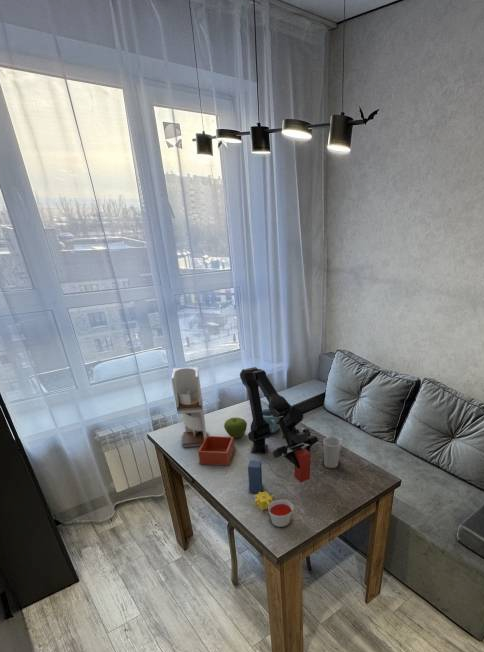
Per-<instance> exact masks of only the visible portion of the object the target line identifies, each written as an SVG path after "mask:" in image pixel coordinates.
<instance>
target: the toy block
mask: <svg viewBox="0 0 484 652" xmlns="http://www.w3.org/2000/svg"><path fill="white" fill-rule="evenodd" d="M254 497H255V499H254V505H255V506H257V507H258V508H259V509H260V510H261V511H264V510H268V507H269V505H270V504H271V503H272V502H273V498H274V497H275V495H274V494H271V495H270V494H269V493H268V491H267V490H265V491H261V492H258V493H255V495H254Z"/></svg>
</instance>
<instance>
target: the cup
mask: <svg viewBox="0 0 484 652" xmlns="http://www.w3.org/2000/svg"><path fill="white" fill-rule="evenodd" d="M322 441H323V459H324V460H323V461H324V463H323V465H324V466H325V467H327V468H328V469H329V468H330V469H335V468H337V467H338V466H339V460H340V459H339V458H340V453H341V448H342V439H341V438H339V437H336V436H328V437H327V436H326V437H325V438H324V439H323V440H322Z"/></svg>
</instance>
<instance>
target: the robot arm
mask: <svg viewBox="0 0 484 652" xmlns="http://www.w3.org/2000/svg"><path fill="white" fill-rule="evenodd" d="M239 379H240V380H241V383H242V384H243V386H244V387H245V388H246V390H247V394H248V401H249V406H250V410H251V411H250V412H251V417H252V420H251V424H250V431H249V432H248V433H247V437H248V439H249V441H250V442H252V449H251V453H253V454H255V453H257V454H258V453H259V454H265V453H266V452H267V448H268V444H266V439H269V438H270V435H271V433H270V431H271V430H270V428H269V423H267V422H266V421H265V420H264V417H263V412H262V410H263V406H262V401H261V396H260V391H261V392H262V393H263V395H264V397H265V399H266V400H267V402H268V409H269V410H270V413H271V414H272V415H273V416H274V417H279V418H278V420H277V425H278V424H279V429H280V430H281V433H282V439H283V440H285V443H286V445H282V446H279V447H277V448H276V449H275V450H273V451H272V455H273V458H274V459H277V458H280V457H282V458H285V459H287V460H288V461H289V462H291V463H292V465H294V467H295V466H296V467H297V468H298V469H299V468H300V466H299V463H298V461H297V459H296V457H295V451H296V450H295V449H297V448H299V449H303V448H305V449H306V450H307V451H308V452H310V453H311V447H312V446H314V445H315V444H316V443H318V442H320V441H319V438H318V436H316V435H315V434H314V435H312V434H311V431H310V429H309V428H304V430H303V432H300V431H299V430H298V429H296V427H295V426H296V425H299V424H300V423H301V422H302V421H303V419H304V413H303V412H302V411H301V410H300V409H298V408H296V406H295V405H292V404H290V403H289V402H288V400H287V399H286V398H285V397H284V396H282V395H280V394H279V393H278V391H277V390H276V389H275V386H274V385H273V383H272V382H271V381H270V379H269V377H268V376H267V372H266V371H265V369H263V368H258V367H257V366H254V367H249V368H244V369H241V371H240V373H239ZM259 388H260V389H259ZM292 446H293V447H292ZM297 450H298V449H297Z"/></svg>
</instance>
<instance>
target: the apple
mask: <svg viewBox="0 0 484 652" xmlns="http://www.w3.org/2000/svg"><path fill="white" fill-rule="evenodd" d="M247 427H248V422H247V421H246V420H245V419H244V418H242V417H238V416H237V417H230V418H228V419H226V420H225V422H224V424H223V428H224V430H225V432H226V433H227V434H228V437H234V439H240V438H241V437H243V436H244V435H245V433H246V431H247Z"/></svg>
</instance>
